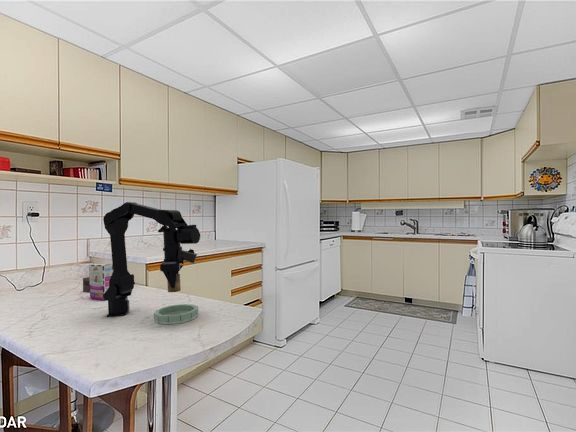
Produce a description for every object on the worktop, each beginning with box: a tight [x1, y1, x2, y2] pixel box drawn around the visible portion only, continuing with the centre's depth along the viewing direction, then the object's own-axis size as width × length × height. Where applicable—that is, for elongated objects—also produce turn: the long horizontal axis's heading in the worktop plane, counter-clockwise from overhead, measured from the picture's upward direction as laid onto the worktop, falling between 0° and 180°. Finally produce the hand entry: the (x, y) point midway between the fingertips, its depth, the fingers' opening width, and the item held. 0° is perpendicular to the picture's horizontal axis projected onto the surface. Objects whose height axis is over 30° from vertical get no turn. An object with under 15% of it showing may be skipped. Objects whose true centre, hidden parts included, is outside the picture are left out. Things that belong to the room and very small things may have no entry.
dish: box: [153, 303, 199, 325], centre depth 117 cm, size 15×15×3 cm
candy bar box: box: [88, 263, 113, 302], centre depth 150 cm, size 11×5×16 cm, turn 62°
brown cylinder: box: [166, 273, 181, 293], centre depth 116 cm, size 4×4×6 cm
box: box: [82, 276, 90, 293], centre depth 168 cm, size 6×6×7 cm
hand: (174, 286), depth 116 cm, fingers closed on brown cylinder, 4 cm apart
